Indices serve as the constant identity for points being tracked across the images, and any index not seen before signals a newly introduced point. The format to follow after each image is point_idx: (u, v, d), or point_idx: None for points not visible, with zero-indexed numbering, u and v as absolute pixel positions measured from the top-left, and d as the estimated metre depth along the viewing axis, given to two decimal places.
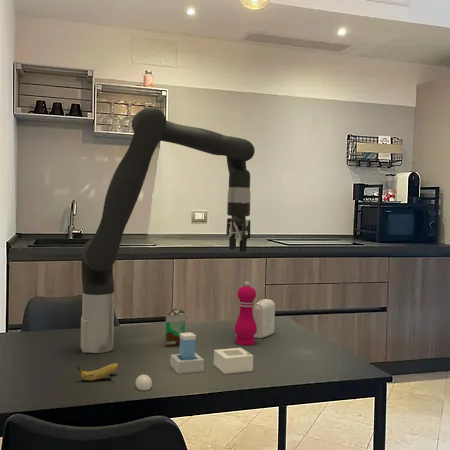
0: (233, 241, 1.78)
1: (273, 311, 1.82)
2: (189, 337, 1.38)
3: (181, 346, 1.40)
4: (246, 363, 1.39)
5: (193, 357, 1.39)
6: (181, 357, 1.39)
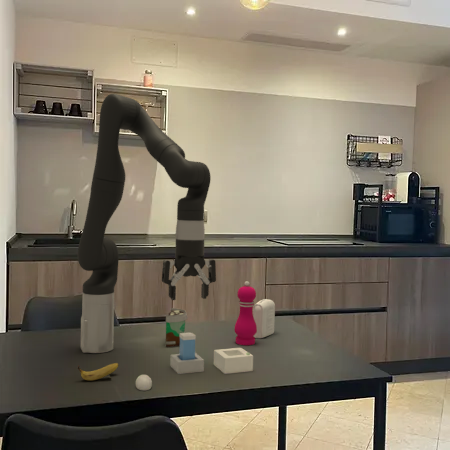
0: None
1: (273, 311, 1.82)
2: (189, 337, 1.38)
3: (181, 346, 1.40)
4: (246, 363, 1.39)
5: (193, 357, 1.39)
6: (181, 357, 1.39)
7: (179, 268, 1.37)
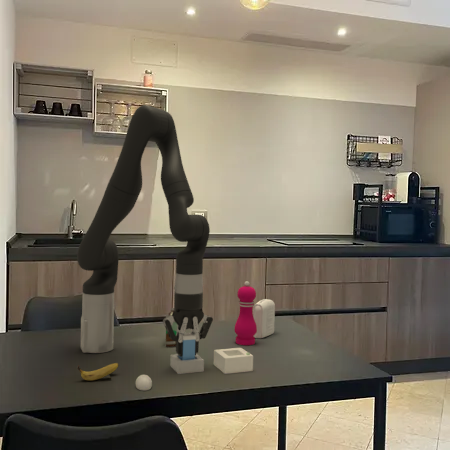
0: None
1: (273, 311, 1.82)
2: (189, 337, 1.38)
3: None
4: (246, 363, 1.39)
5: (193, 357, 1.39)
6: (181, 357, 1.39)
7: (179, 324, 1.38)
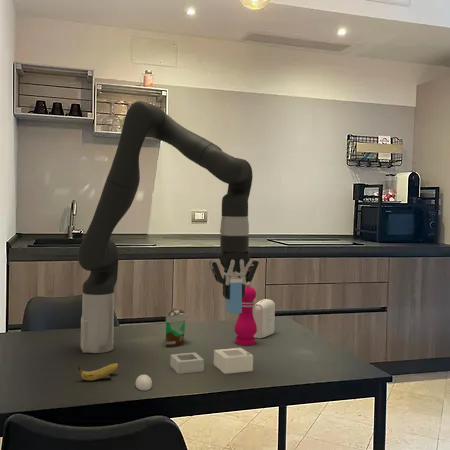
0: None
1: (273, 311, 1.82)
2: (236, 280, 1.39)
3: None
4: (246, 363, 1.39)
5: (240, 300, 1.40)
6: (228, 301, 1.40)
7: (226, 266, 1.38)
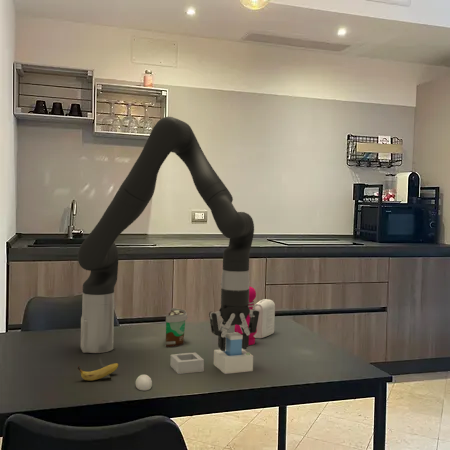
0: None
1: (273, 311, 1.82)
2: (236, 337, 1.40)
3: (228, 346, 1.41)
4: (246, 363, 1.39)
5: None
6: None
7: (225, 319, 1.39)
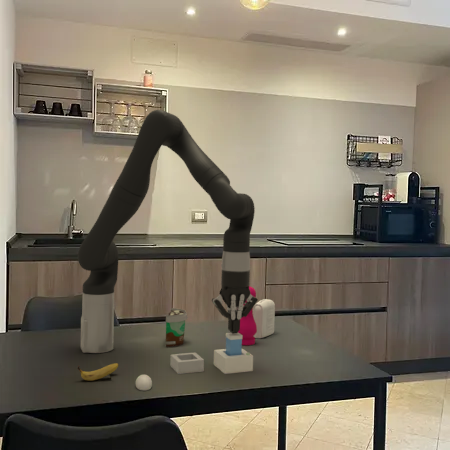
0: None
1: (273, 311, 1.82)
2: (236, 337, 1.40)
3: (228, 346, 1.41)
4: (246, 363, 1.39)
5: None
6: None
7: (228, 302, 1.39)
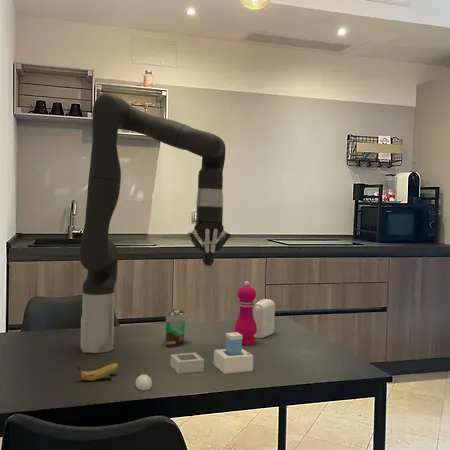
0: None
1: (273, 311, 1.82)
2: (236, 337, 1.40)
3: (228, 346, 1.41)
4: (246, 363, 1.39)
5: None
6: None
7: (203, 236, 1.50)
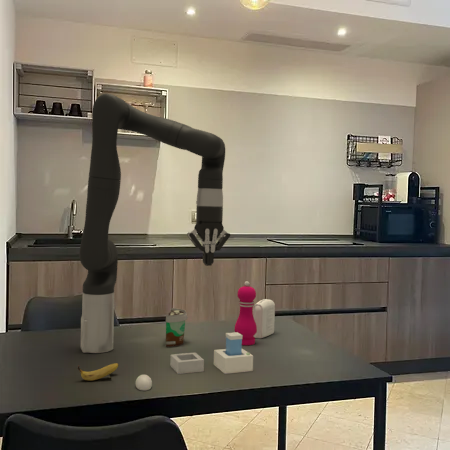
0: None
1: (273, 311, 1.82)
2: (236, 337, 1.40)
3: (228, 346, 1.41)
4: (246, 363, 1.39)
5: None
6: None
7: (203, 236, 1.50)
